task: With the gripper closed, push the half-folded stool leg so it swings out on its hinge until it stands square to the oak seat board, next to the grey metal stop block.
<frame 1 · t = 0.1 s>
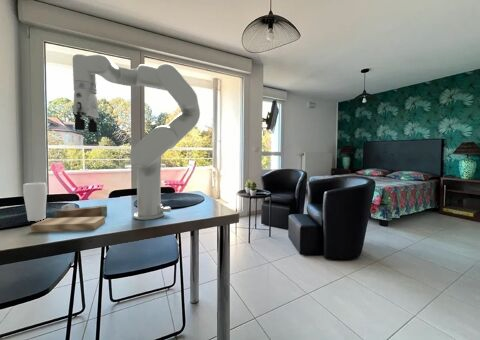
hand: (86, 131, 87), 37 cm above the table, tool pointing down, fingers open, 9 cm apart
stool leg: (82, 212, 88), point 2 cm above the table, hinge at 25.0°
stop block: (68, 213, 95), on the table
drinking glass: (37, 220, 86), on the table
seat board: (70, 227, 78), on the table
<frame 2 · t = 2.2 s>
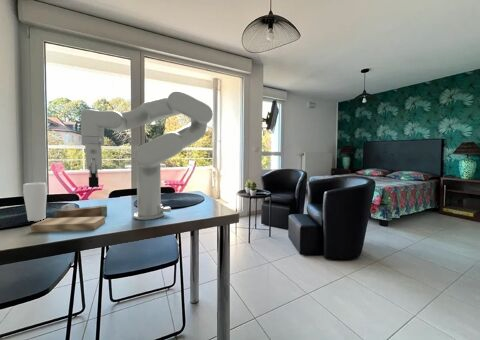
hand: (93, 186, 85), 14 cm above the table, tool pointing down, fingers closed
nothing on the table moved.
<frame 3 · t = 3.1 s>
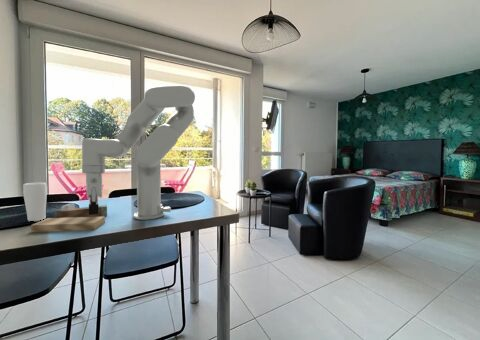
hand: (93, 213, 86), 3 cm above the table, tool pointing down, fingers closed
nothing on the table moved.
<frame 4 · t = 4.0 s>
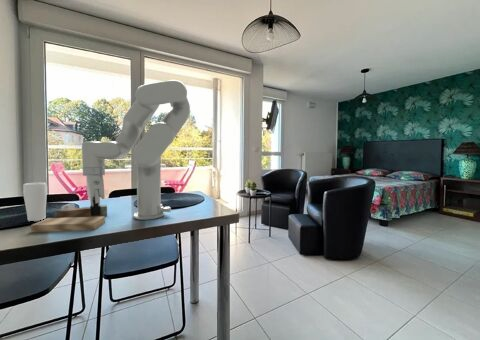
hand: (95, 215, 88), 2 cm above the table, tool pointing down, fingers closed
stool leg: (82, 212, 88), point 2 cm above the table, hinge at 25.5°, touching gripper
everything else where it was.
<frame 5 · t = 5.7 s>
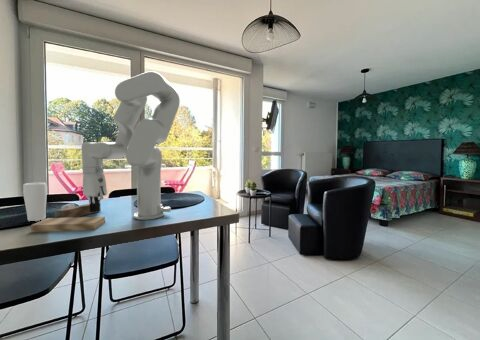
hand: (95, 211, 94), 1 cm above the table, tool pointing down, fingers closed
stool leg: (78, 210, 91), point 2 cm above the table, hinge at 60.8°, touching gripper
everything else where it was.
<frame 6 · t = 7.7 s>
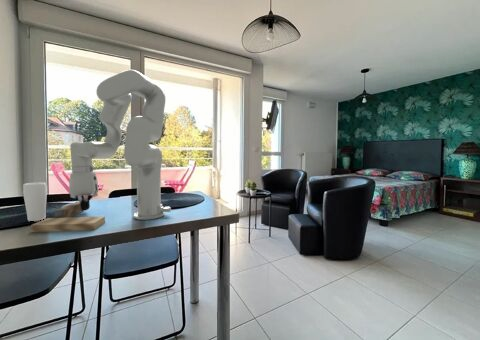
hand: (85, 209, 97), 1 cm above the table, tool pointing down, fingers closed
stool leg: (70, 210, 91), point 2 cm above the table, hinge at 91.9°, touching gripper, stop block
everything else where it was.
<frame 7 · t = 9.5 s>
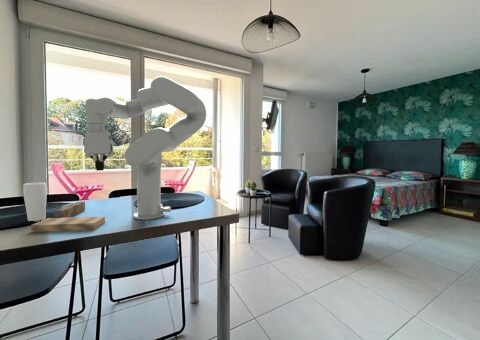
hand: (100, 170, 94), 20 cm above the table, tool pointing down, fingers closed
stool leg: (70, 210, 91), point 2 cm above the table, hinge at 91.1°
everything else where it was.
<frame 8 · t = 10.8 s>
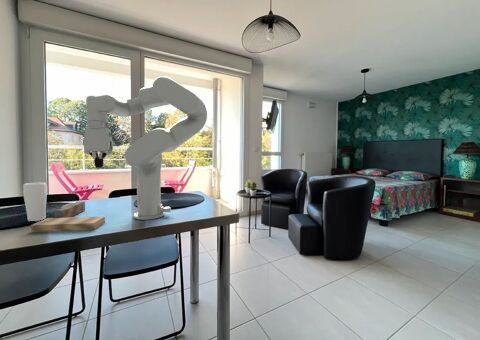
hand: (99, 167, 93), 21 cm above the table, tool pointing down, fingers closed
nothing on the table moved.
at the end: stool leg at +91° (first picture: +25°); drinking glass moved 0.2 cm from its start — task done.
